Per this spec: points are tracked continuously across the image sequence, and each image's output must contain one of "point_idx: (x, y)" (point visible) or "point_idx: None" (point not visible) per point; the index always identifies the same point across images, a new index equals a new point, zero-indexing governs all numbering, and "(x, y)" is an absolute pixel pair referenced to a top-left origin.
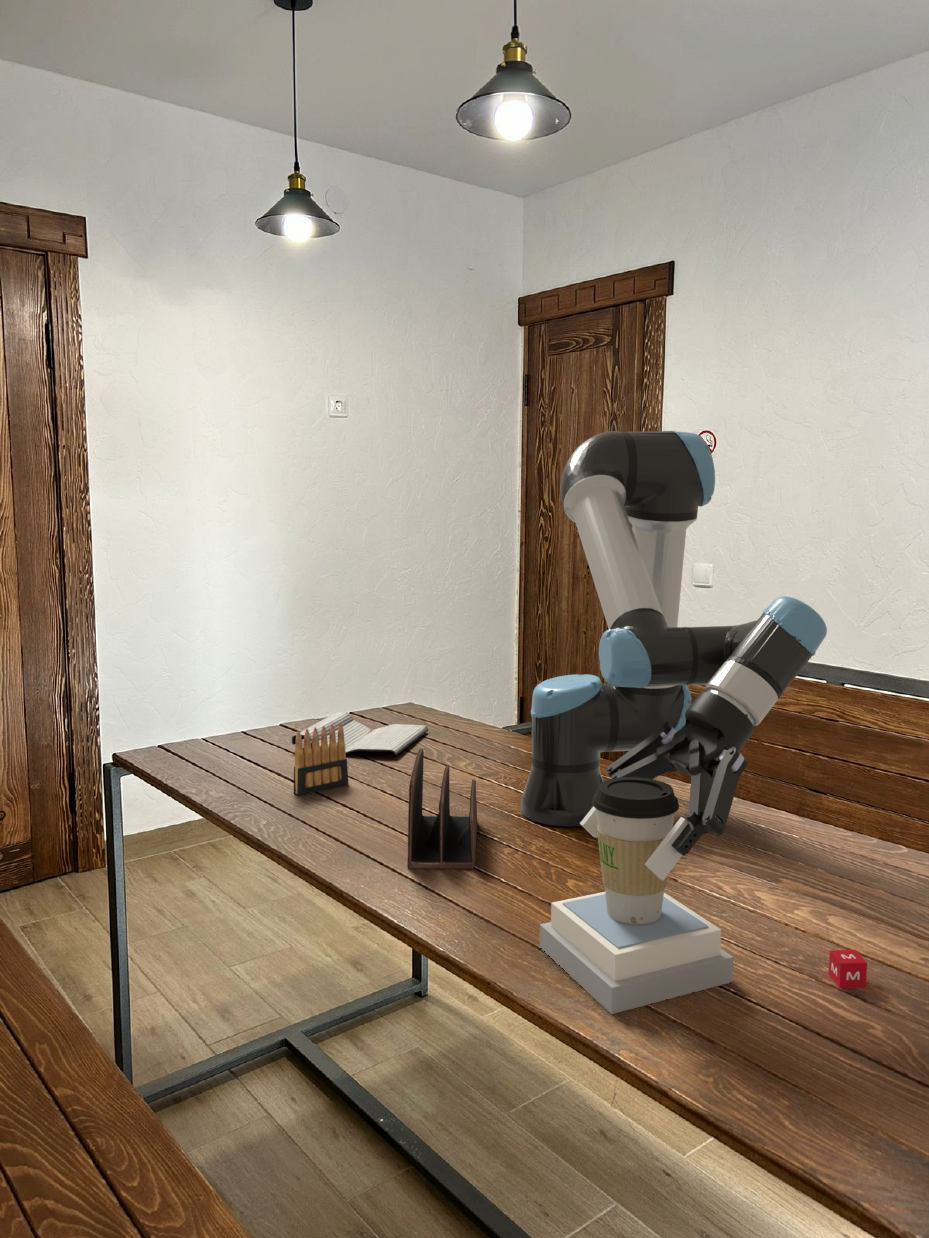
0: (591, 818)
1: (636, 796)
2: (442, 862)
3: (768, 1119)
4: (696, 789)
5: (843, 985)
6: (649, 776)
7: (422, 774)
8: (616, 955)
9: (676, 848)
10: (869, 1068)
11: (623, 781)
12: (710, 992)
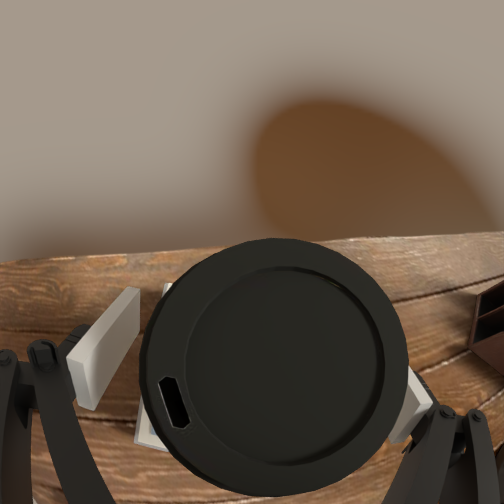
0: None
1: (244, 330)
2: (477, 319)
3: (21, 283)
4: (62, 452)
5: None
6: (389, 497)
7: None
8: (168, 284)
9: (84, 324)
10: None
11: (381, 383)
12: (139, 403)
